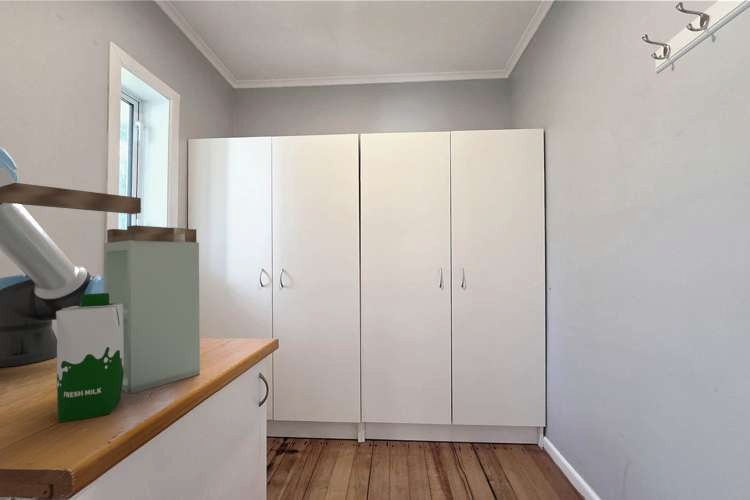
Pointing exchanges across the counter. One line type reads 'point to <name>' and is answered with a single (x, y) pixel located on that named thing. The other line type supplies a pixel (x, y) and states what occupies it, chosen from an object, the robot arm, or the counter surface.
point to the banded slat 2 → (160, 234)
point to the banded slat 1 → (116, 235)
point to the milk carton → (89, 358)
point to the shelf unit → (155, 309)
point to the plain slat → (68, 198)
